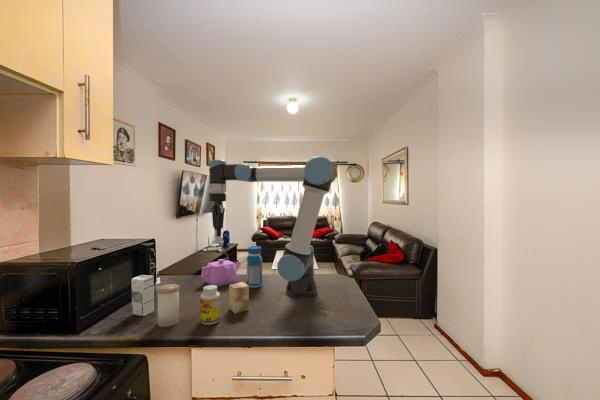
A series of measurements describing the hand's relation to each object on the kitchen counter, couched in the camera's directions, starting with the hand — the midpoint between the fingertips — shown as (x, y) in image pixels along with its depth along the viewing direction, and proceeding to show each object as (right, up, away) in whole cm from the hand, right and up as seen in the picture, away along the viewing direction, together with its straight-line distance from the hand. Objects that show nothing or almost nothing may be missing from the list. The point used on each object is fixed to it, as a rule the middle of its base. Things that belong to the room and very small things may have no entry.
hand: (217, 242), depth 130 cm
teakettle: (-4, -24, +20) cm, 32 cm away
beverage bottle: (+15, -25, +13) cm, 32 cm away
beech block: (+14, -25, -17) cm, 33 cm away
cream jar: (-10, -25, -29) cm, 39 cm away
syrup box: (-23, -25, -21) cm, 40 cm away
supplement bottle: (+6, -25, -28) cm, 38 cm away
